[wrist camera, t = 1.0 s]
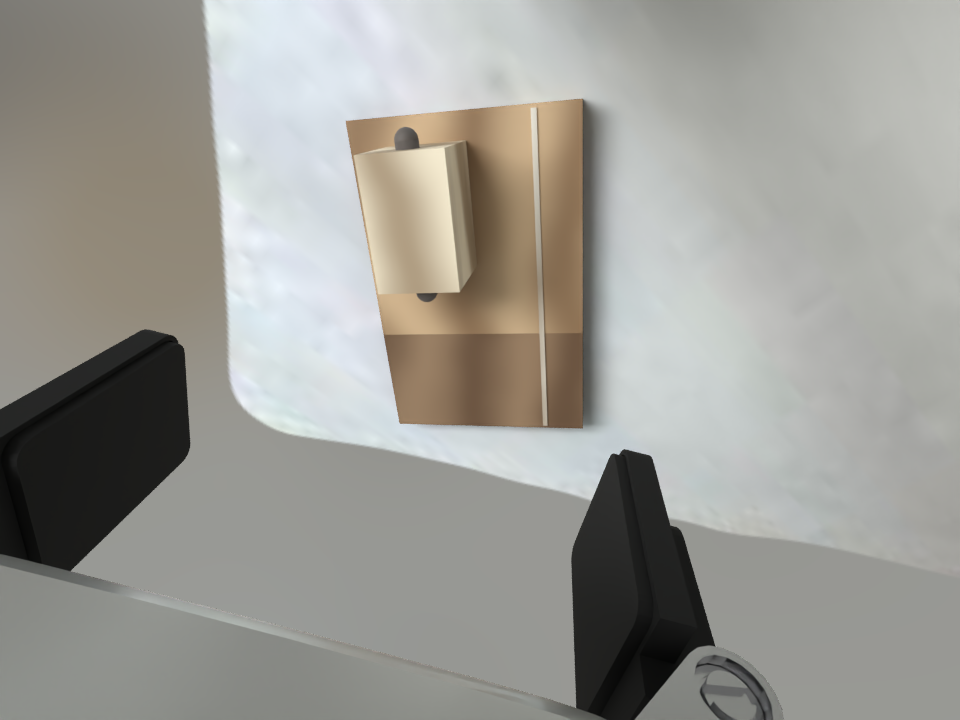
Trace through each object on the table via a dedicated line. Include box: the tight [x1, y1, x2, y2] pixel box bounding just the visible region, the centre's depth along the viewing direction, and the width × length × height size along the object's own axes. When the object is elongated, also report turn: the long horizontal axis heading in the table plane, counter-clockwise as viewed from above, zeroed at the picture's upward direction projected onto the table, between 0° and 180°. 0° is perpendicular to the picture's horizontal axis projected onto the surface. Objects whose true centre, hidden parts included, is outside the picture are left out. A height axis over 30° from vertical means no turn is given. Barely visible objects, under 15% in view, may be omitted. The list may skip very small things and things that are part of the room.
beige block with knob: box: [354, 127, 477, 302], centre depth 28 cm, size 4×9×5 cm, turn 5°
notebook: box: [346, 99, 583, 428], centre depth 33 cm, size 13×20×2 cm, turn 5°
